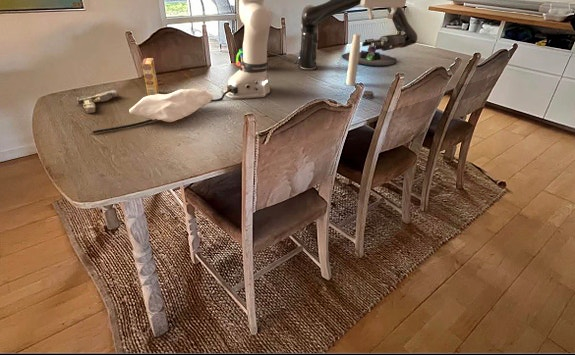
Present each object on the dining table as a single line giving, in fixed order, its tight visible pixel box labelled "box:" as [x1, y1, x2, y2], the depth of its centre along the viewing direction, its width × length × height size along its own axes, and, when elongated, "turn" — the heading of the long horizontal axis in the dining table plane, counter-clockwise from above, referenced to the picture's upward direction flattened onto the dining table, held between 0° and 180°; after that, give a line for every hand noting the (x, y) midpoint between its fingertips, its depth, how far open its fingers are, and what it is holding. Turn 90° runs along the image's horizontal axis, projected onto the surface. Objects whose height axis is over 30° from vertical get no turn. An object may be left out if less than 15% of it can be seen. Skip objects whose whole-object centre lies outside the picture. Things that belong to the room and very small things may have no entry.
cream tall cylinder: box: [345, 33, 361, 87], centre depth 184 cm, size 5×5×25 cm
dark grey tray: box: [341, 46, 397, 67], centre depth 232 cm, size 35×35×9 cm
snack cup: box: [235, 47, 243, 63], centre depth 205 cm, size 16×10×10 cm
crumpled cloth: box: [129, 88, 214, 123], centre depth 147 cm, size 24×35×9 cm
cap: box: [362, 90, 374, 100], centre depth 174 cm, size 5×5×2 cm
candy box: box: [141, 57, 160, 96], centre depth 163 cm, size 9×4×15 cm, turn 13°
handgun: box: [76, 89, 120, 114], centre depth 155 cm, size 3×18×15 cm
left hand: (380, 18), depth 156 cm, fingers open, 8 cm apart
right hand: (368, 45), depth 186 cm, fingers open, 8 cm apart
